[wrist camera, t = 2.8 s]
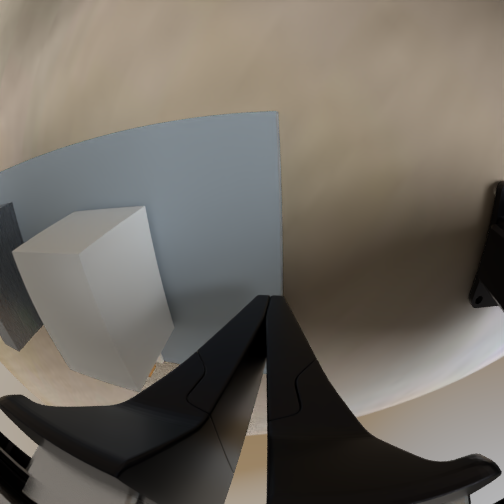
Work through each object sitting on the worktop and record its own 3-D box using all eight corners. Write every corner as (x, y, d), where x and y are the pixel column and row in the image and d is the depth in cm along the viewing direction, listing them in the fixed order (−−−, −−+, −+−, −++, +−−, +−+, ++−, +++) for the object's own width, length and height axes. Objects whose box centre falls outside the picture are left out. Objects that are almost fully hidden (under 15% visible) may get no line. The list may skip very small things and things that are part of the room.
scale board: (278, 112, 9) (274, 110, 8) (282, 357, 14) (279, 379, 13) (6, 169, 12) (-11, 177, 10) (57, 321, 17) (46, 333, 16)
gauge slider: (145, 205, 10) (78, 254, 6) (186, 366, 14) (161, 426, 10) (74, 211, 11) (11, 251, 7) (126, 354, 15) (95, 404, 11)
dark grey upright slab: (12, 201, 11) (-37, 230, 8) (52, 314, 15) (19, 351, 11) (-1, 205, 12) (-46, 231, 8) (37, 310, 15) (5, 343, 12)
